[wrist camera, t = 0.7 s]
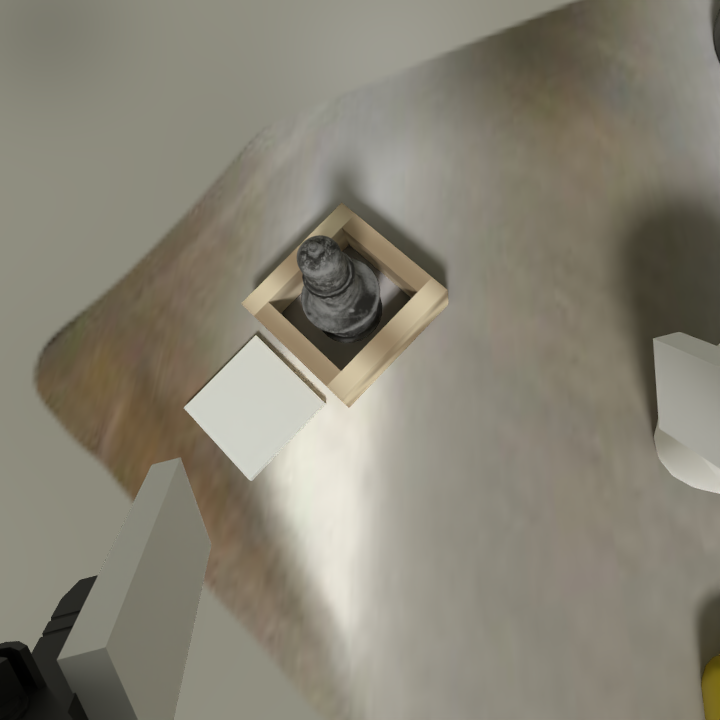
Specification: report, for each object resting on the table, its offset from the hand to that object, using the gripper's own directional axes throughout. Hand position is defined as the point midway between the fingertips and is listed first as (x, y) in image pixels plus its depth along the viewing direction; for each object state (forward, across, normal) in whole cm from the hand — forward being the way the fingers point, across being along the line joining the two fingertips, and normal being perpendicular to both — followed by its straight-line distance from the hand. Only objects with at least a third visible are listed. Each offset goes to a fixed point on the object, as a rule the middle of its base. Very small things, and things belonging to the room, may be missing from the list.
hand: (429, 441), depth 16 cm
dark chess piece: (+31, 0, -3) cm, 31 cm away
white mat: (+29, -9, -8) cm, 32 cm away
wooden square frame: (+31, 0, -3) cm, 31 cm away
